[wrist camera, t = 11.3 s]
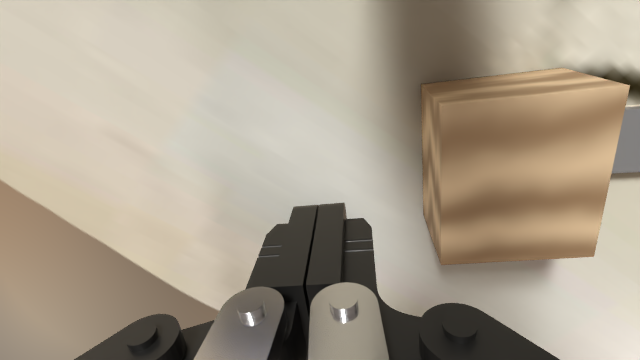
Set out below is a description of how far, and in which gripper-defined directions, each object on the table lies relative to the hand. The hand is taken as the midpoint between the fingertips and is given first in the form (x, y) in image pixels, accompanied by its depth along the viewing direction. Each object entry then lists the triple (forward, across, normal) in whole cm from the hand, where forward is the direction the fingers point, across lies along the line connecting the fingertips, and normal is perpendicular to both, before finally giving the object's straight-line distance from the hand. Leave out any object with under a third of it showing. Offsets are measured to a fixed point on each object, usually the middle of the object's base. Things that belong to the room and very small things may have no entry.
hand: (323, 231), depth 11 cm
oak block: (+31, -15, +10) cm, 36 cm away
